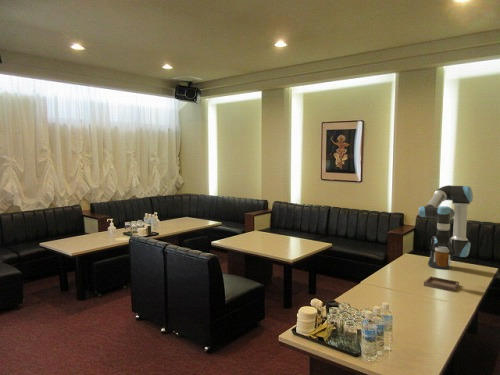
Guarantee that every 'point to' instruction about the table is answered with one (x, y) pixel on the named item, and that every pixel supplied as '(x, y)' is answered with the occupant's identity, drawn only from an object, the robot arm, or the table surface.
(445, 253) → the disposable coffee cup
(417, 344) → the table surface
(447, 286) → the walnut tray
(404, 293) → the table surface
